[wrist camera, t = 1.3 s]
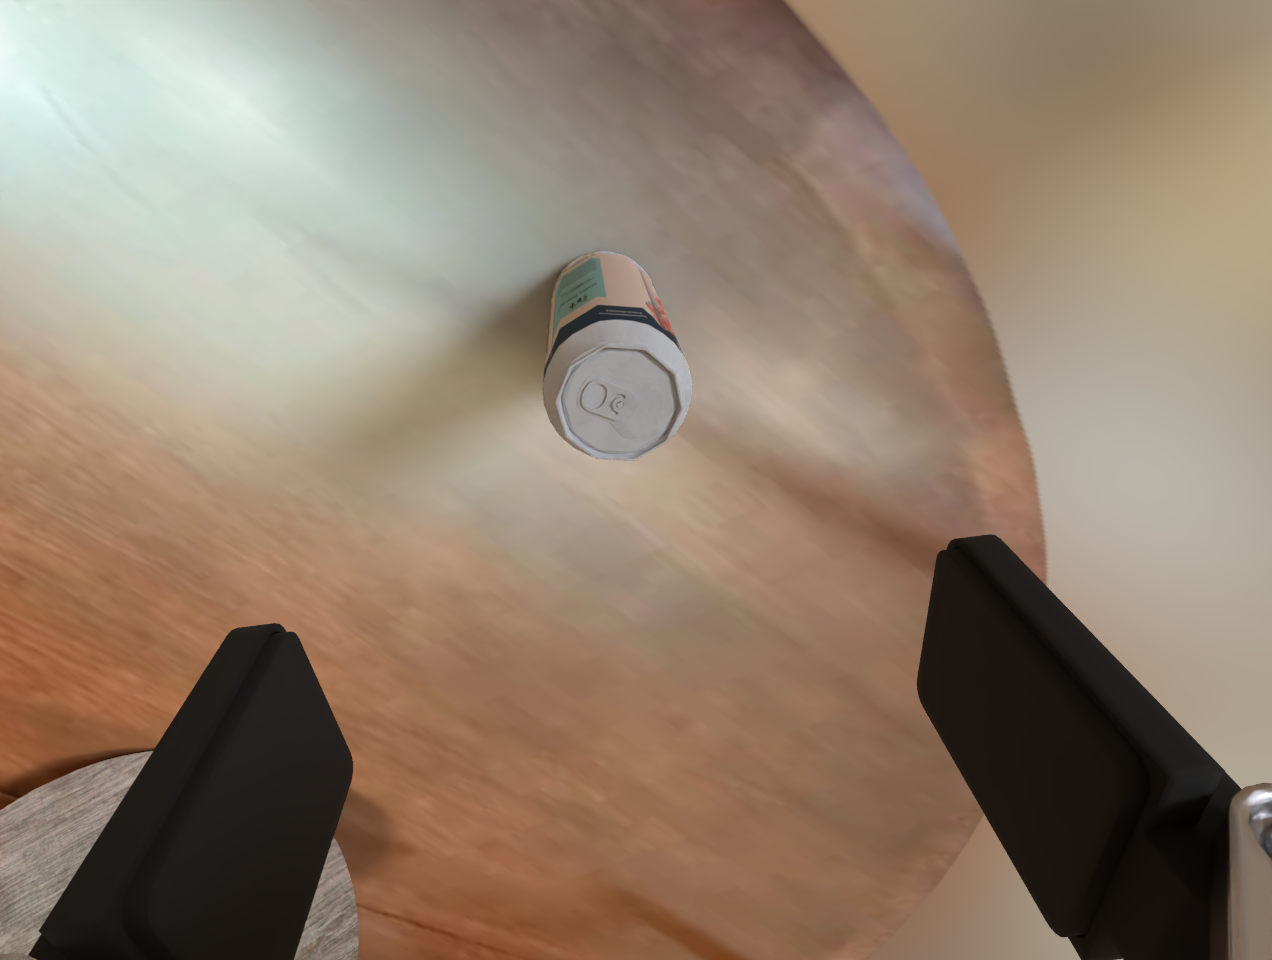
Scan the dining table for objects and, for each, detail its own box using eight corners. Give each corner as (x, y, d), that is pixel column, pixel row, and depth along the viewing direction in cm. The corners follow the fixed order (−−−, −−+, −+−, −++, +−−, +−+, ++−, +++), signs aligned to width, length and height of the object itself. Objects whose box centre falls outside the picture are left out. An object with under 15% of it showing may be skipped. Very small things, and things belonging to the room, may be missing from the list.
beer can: (630, 366, 33) (658, 492, 23) (536, 330, 32) (520, 446, 21) (672, 273, 31) (723, 364, 21) (573, 230, 30) (575, 304, 19)
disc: (37, 745, 51) (-72, 1163, 43) (-132, 759, 35) (-352, 1425, 27) (388, 738, 58) (351, 1097, 50) (379, 748, 42) (323, 1274, 34)
